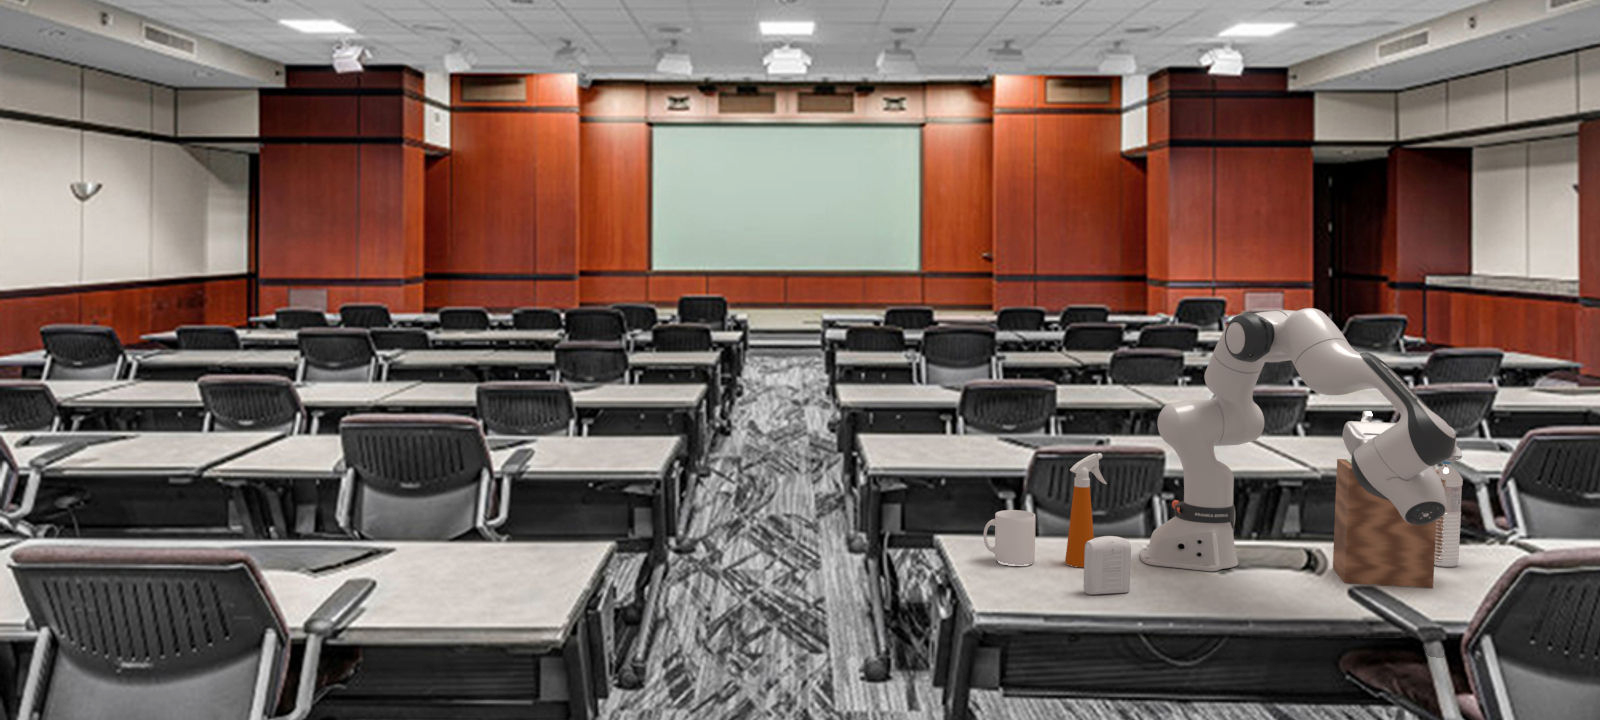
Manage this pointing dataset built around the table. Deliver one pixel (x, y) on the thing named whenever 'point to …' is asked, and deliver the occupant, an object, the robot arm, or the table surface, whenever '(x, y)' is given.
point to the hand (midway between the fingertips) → (1391, 414)
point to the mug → (1013, 537)
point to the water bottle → (1449, 518)
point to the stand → (1378, 538)
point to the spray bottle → (1082, 509)
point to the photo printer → (1107, 565)
